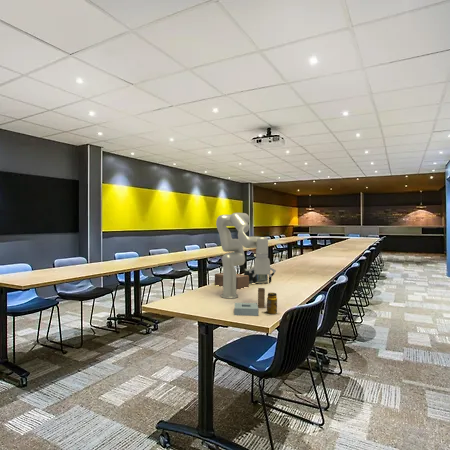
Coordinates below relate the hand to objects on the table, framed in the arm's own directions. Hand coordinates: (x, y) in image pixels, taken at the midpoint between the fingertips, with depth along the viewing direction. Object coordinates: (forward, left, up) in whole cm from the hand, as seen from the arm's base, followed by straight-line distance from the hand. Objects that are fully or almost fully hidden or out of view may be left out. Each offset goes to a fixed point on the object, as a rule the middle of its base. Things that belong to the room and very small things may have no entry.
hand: (262, 283), depth 216 cm
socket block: (+13, -10, -16) cm, 22 cm away
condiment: (+13, +4, -16) cm, 21 cm away
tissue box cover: (-69, -21, -16) cm, 73 cm away
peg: (0, 0, -16) cm, 16 cm away
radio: (-82, +1, -16) cm, 84 cm away
